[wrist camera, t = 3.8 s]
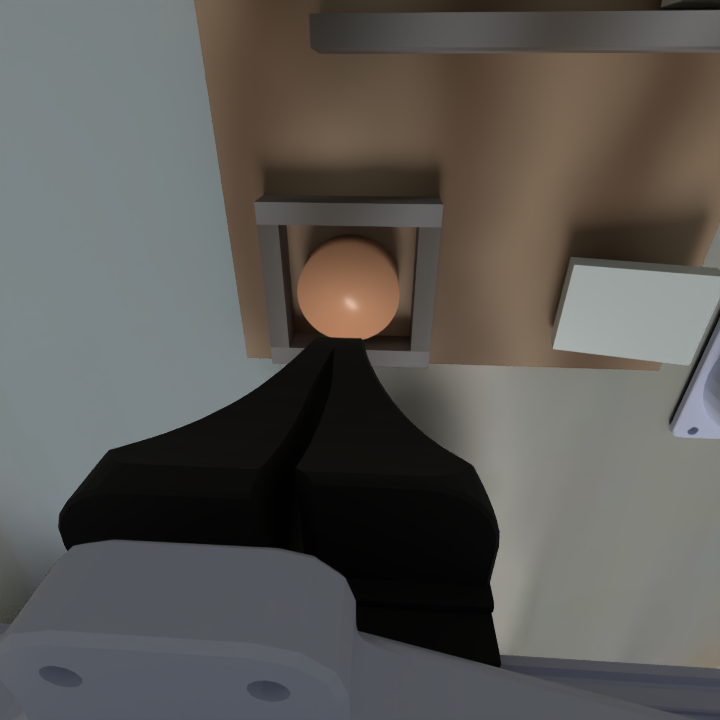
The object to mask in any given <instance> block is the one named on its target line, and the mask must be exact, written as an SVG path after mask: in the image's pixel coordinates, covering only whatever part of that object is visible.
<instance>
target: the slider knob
mask: <svg viewBox="0 0 720 720" xmlns="http://www.w3.org/2000/svg"><path fill="white" fill-rule="evenodd" d="M702 7H720V0H662V4H661V7H660V8H702Z"/></svg>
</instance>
